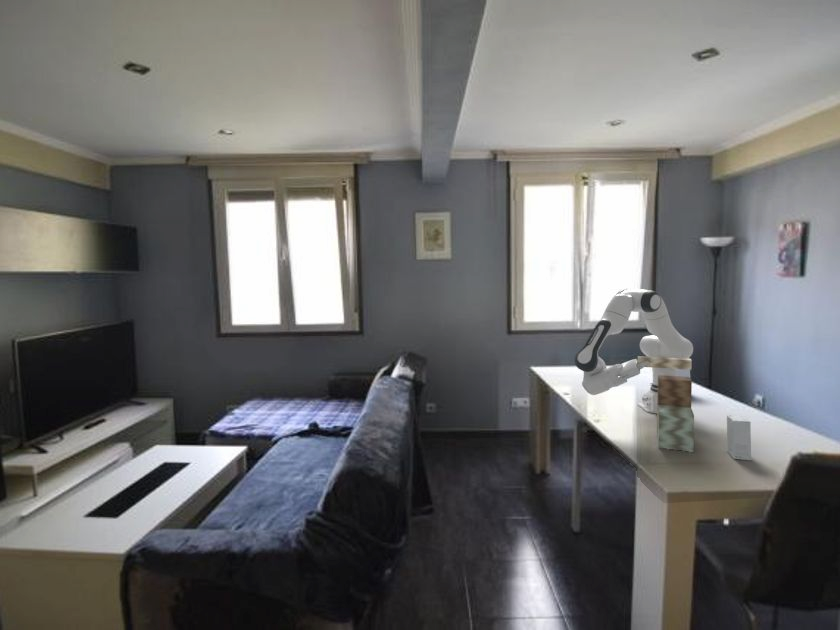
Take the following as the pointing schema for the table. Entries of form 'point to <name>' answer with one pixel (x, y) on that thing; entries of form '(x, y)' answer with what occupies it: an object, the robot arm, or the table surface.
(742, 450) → the skincare box
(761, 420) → the table surface
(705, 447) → the table surface
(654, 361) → the birch batten
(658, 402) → the stepped stand
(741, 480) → the table surface
